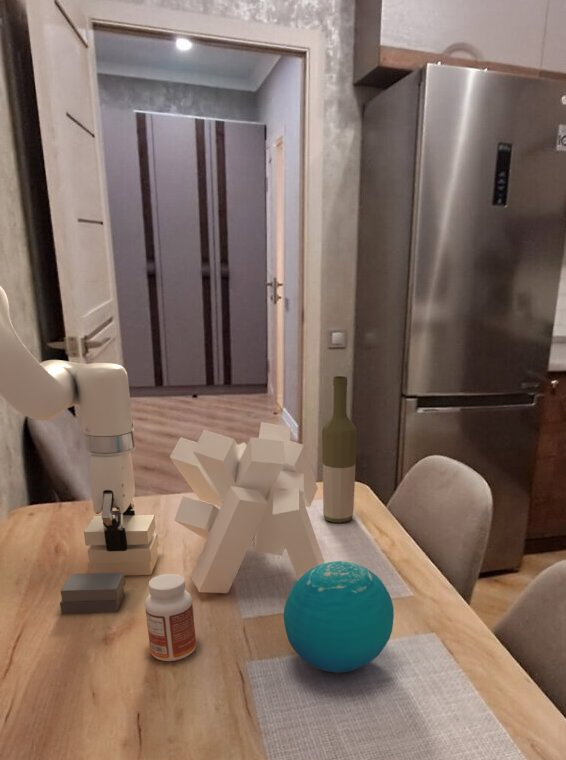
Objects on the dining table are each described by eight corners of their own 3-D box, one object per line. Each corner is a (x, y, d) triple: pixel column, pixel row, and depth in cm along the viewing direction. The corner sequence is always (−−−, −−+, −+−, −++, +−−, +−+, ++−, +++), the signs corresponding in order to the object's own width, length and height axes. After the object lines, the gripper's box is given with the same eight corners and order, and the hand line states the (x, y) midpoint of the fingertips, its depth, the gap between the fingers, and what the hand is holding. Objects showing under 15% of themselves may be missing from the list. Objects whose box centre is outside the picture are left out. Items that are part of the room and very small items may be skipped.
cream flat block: (85, 545, 111) (83, 532, 110) (96, 528, 117) (94, 515, 116) (148, 544, 113) (147, 530, 112) (155, 527, 119) (154, 514, 118)
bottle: (335, 528, 137) (336, 382, 126) (315, 517, 142) (315, 376, 130) (361, 520, 142) (365, 378, 130) (341, 510, 146) (343, 372, 135)
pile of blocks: (151, 563, 130) (78, 431, 103) (272, 481, 143) (235, 345, 116) (258, 678, 114) (204, 557, 87) (384, 574, 126) (372, 440, 99)
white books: (89, 577, 113) (85, 550, 111) (99, 558, 119) (96, 533, 118) (153, 575, 115) (150, 549, 113) (160, 557, 121) (157, 532, 119)
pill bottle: (196, 636, 98) (191, 569, 94) (195, 660, 93) (190, 590, 88) (152, 640, 97) (144, 572, 92) (148, 665, 91) (140, 593, 87)
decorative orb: (413, 667, 94) (420, 572, 88) (328, 711, 84) (329, 607, 78) (346, 622, 104) (348, 534, 98) (263, 657, 94) (260, 562, 88)
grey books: (61, 614, 102) (57, 591, 100) (72, 596, 107) (68, 573, 105) (119, 612, 103) (116, 589, 102) (126, 594, 108) (124, 572, 107)
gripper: (98, 427, 116) (111, 521, 122) (70, 457, 100) (85, 564, 107) (144, 427, 117) (153, 520, 124) (122, 457, 101) (135, 562, 108)
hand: (122, 540), depth 115 cm, fingers closed on cream flat block, 7 cm apart
